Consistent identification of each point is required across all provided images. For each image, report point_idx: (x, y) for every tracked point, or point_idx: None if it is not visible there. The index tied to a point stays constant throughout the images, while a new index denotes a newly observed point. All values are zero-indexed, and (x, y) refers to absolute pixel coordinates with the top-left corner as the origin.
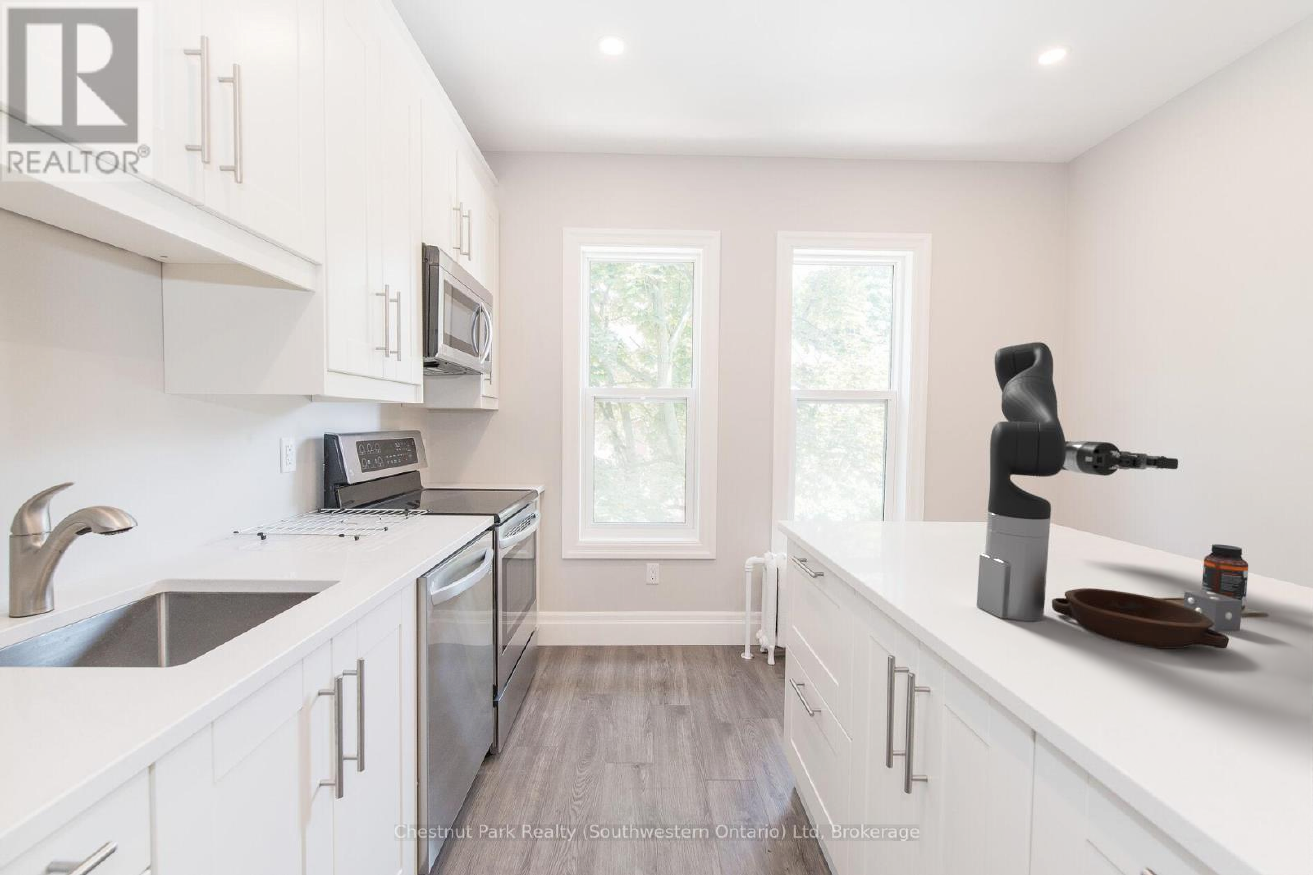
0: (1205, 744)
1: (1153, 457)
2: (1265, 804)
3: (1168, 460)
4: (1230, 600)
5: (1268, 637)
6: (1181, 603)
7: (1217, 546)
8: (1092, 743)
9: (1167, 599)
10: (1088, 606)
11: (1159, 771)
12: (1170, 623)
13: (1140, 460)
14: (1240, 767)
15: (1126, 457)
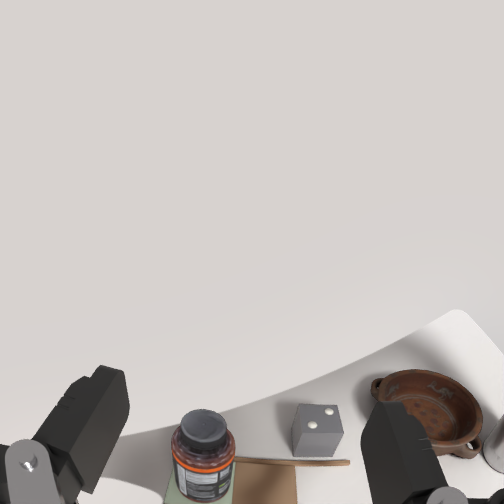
0: (451, 333)
1: (56, 482)
2: (450, 318)
3: (109, 404)
4: (315, 405)
5: (278, 413)
6: (265, 501)
7: (225, 428)
8: (486, 336)
9: None
10: (473, 397)
11: (471, 327)
12: (428, 371)
13: (374, 408)
14: (447, 326)
15: (420, 455)
